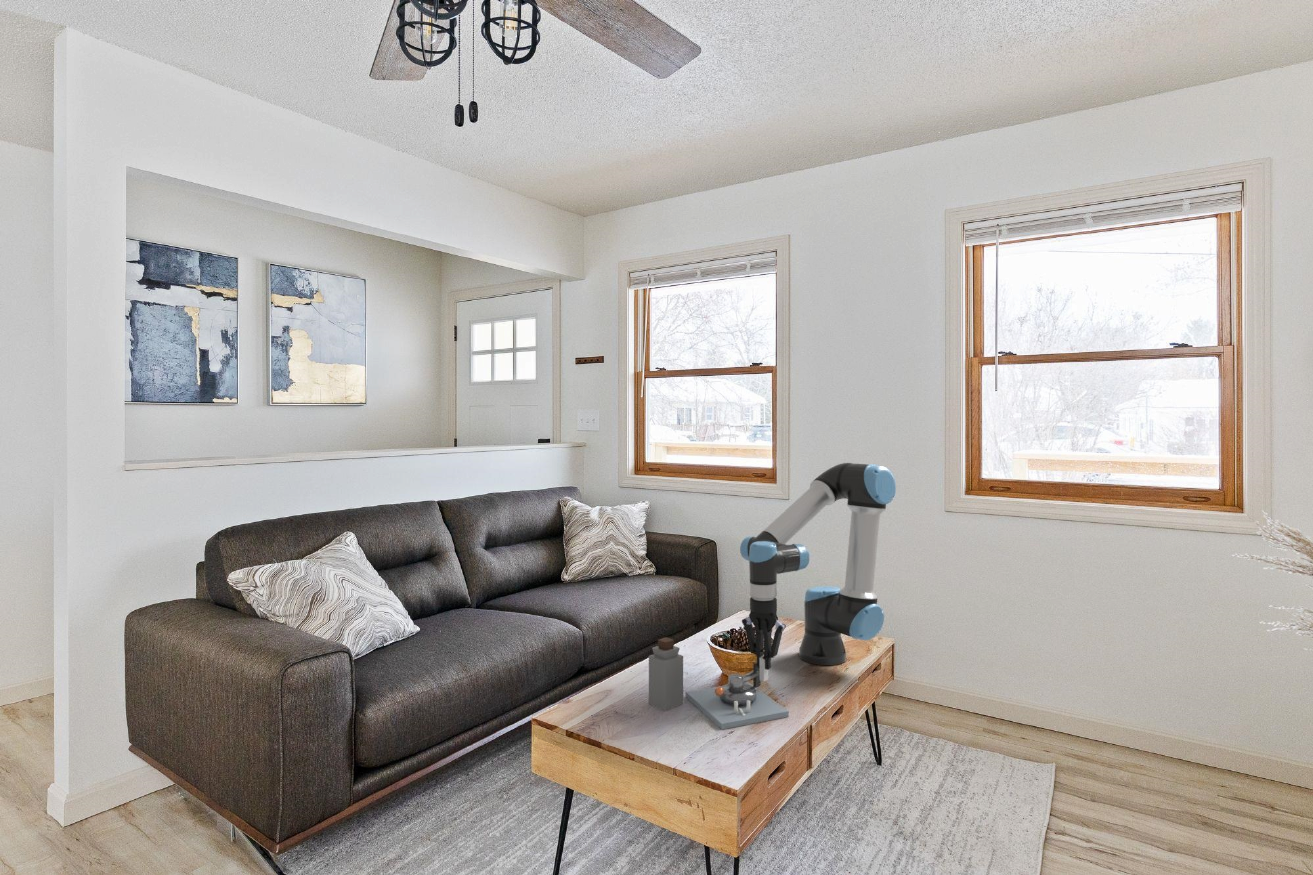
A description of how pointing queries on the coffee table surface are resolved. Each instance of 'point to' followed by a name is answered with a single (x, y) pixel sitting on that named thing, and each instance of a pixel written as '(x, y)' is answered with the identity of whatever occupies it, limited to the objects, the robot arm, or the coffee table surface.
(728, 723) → the stand
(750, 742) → the coffee table surface
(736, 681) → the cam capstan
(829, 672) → the coffee table surface
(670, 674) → the perfume bottle
